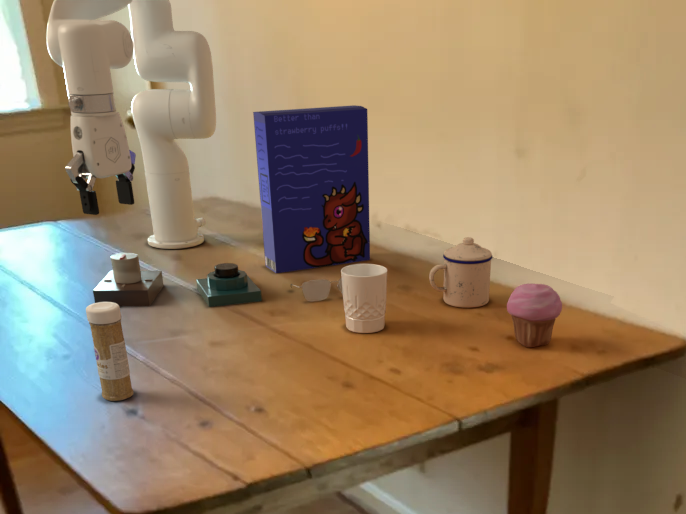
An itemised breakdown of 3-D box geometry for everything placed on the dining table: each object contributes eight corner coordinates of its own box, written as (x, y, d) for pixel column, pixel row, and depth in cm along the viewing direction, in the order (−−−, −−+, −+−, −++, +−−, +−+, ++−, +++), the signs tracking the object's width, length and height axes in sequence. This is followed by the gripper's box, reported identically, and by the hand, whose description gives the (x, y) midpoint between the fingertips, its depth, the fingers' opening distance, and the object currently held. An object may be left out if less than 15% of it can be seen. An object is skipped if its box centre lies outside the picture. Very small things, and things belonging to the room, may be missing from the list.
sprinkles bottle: (96, 396, 132) (78, 306, 125) (122, 387, 135) (106, 298, 128) (114, 404, 129) (97, 313, 122) (140, 395, 132) (125, 305, 125)
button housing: (197, 289, 177) (194, 268, 175) (247, 284, 180) (245, 263, 178) (209, 307, 167) (206, 285, 165) (262, 301, 170) (260, 280, 168)
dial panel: (113, 286, 178) (110, 270, 177) (163, 285, 179) (161, 269, 177) (95, 306, 167) (92, 289, 166) (149, 306, 168) (147, 289, 166)
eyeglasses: (300, 303, 169) (298, 281, 167) (289, 294, 176) (287, 273, 174) (370, 295, 174) (369, 273, 172) (356, 286, 180) (355, 266, 179)
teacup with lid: (478, 292, 176) (481, 230, 169) (497, 305, 168) (501, 242, 162) (420, 298, 172) (421, 235, 166) (437, 312, 165) (439, 247, 159)
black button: (213, 274, 173) (212, 264, 172) (236, 272, 174) (235, 262, 173) (217, 280, 169) (216, 270, 168) (241, 278, 171) (240, 268, 169)
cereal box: (357, 253, 199) (354, 104, 183) (370, 259, 195) (367, 107, 179) (265, 266, 190) (253, 110, 174) (276, 273, 186) (264, 114, 170)
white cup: (394, 322, 160) (393, 265, 155) (378, 337, 154) (377, 278, 148) (352, 317, 162) (351, 261, 157) (335, 331, 156) (333, 273, 151)
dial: (118, 276, 173) (113, 251, 171) (144, 276, 174) (140, 250, 171) (111, 284, 169) (107, 258, 167) (138, 283, 169) (134, 258, 167)
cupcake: (523, 355, 146) (528, 294, 141) (495, 339, 153) (498, 280, 148) (568, 347, 150) (574, 287, 145) (538, 331, 156) (543, 273, 151)
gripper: (75, 111, 147) (93, 220, 156) (142, 101, 161) (155, 201, 170) (39, 109, 150) (60, 216, 159) (108, 99, 163) (123, 198, 172)
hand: (109, 208), depth 164 cm, fingers open, 9 cm apart
